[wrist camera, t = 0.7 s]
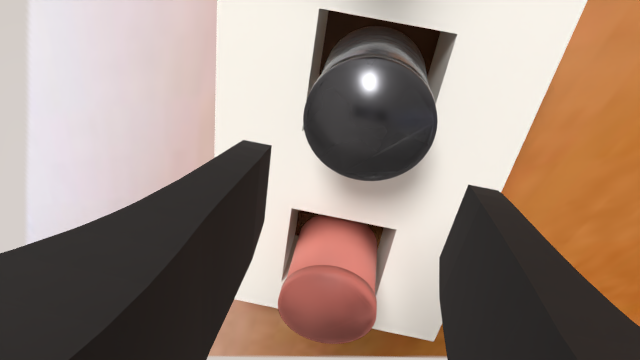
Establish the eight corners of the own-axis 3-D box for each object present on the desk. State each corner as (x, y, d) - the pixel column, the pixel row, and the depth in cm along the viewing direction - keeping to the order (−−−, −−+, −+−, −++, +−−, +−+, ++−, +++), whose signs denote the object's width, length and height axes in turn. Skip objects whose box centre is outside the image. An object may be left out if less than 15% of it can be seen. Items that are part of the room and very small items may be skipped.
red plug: (388, 220, 19) (386, 286, 16) (370, 282, 22) (365, 352, 18) (301, 202, 20) (282, 265, 16) (291, 266, 22) (273, 332, 18)
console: (555, -27, 16) (591, -8, 13) (429, 288, 25) (433, 341, 22) (250, -81, 16) (218, -75, 13) (233, 247, 25) (211, 294, 22)
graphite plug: (442, 34, 15) (455, 73, 12) (413, 134, 17) (417, 192, 14) (330, 13, 15) (312, 46, 12) (315, 115, 17) (296, 167, 14)
